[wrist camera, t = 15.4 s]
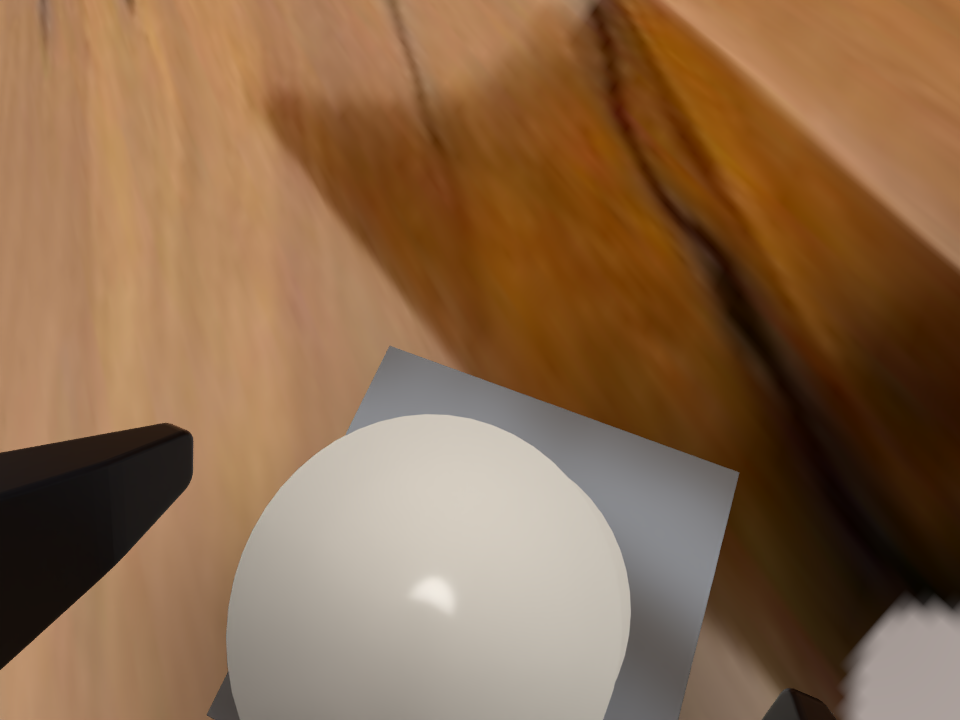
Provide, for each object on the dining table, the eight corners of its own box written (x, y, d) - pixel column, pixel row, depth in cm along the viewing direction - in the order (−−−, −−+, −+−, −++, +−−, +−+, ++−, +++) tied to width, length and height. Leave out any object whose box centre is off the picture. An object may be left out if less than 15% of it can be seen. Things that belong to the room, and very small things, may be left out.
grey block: (609, 892, 17) (623, 940, 15) (243, 699, 20) (206, 714, 17) (715, 485, 21) (739, 472, 19) (402, 369, 24) (389, 345, 21)
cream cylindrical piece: (458, 824, 16) (300, 1460, 4) (300, 570, 19) (-55, 543, 7) (677, 617, 18) (992, 678, 6) (501, 411, 20) (481, 176, 9)
